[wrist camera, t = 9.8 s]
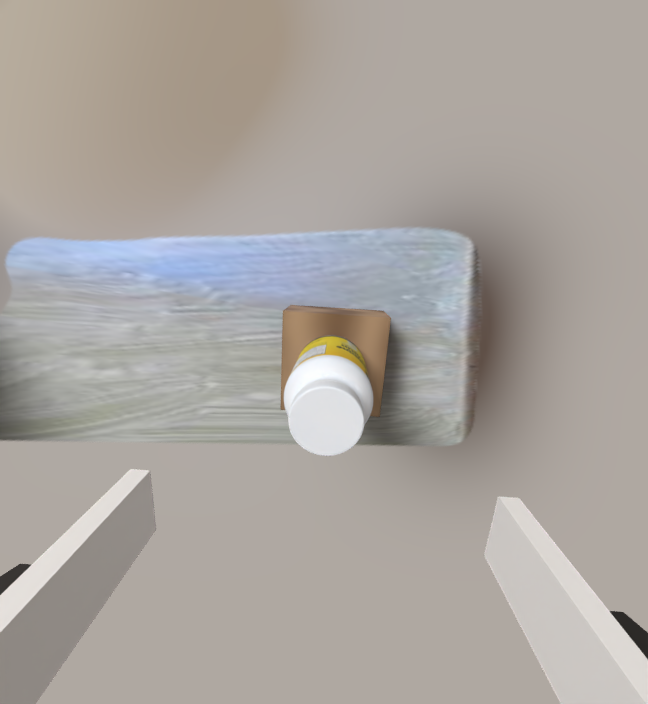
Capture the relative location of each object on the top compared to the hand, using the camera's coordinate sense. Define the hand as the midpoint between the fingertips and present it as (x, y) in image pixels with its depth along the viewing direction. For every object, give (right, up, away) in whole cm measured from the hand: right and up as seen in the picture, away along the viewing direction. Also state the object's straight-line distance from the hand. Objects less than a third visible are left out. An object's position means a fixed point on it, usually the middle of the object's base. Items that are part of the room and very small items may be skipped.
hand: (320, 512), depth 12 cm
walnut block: (+1, +6, +23) cm, 24 cm away
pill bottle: (+1, +5, +18) cm, 19 cm away
